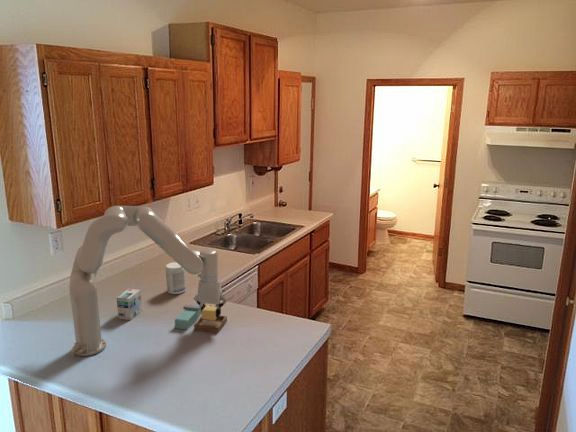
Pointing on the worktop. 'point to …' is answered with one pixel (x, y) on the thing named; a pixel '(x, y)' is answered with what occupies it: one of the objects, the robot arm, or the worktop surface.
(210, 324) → the tray
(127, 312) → the light bulb box
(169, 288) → the supplement tub
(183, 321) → the mint slotted bar
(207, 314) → the stub
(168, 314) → the worktop surface
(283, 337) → the worktop surface
